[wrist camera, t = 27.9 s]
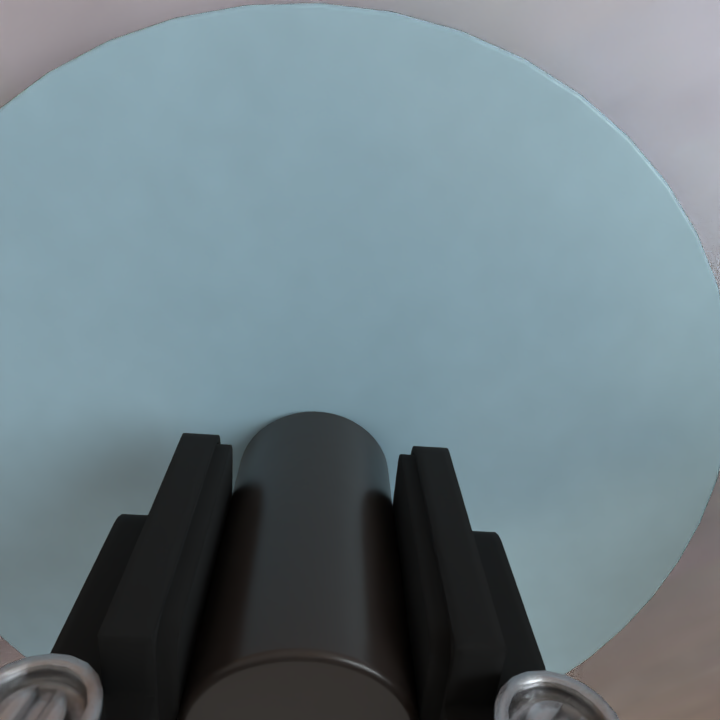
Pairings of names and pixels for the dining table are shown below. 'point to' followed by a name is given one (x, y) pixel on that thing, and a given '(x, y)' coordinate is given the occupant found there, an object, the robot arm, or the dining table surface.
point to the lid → (343, 338)
